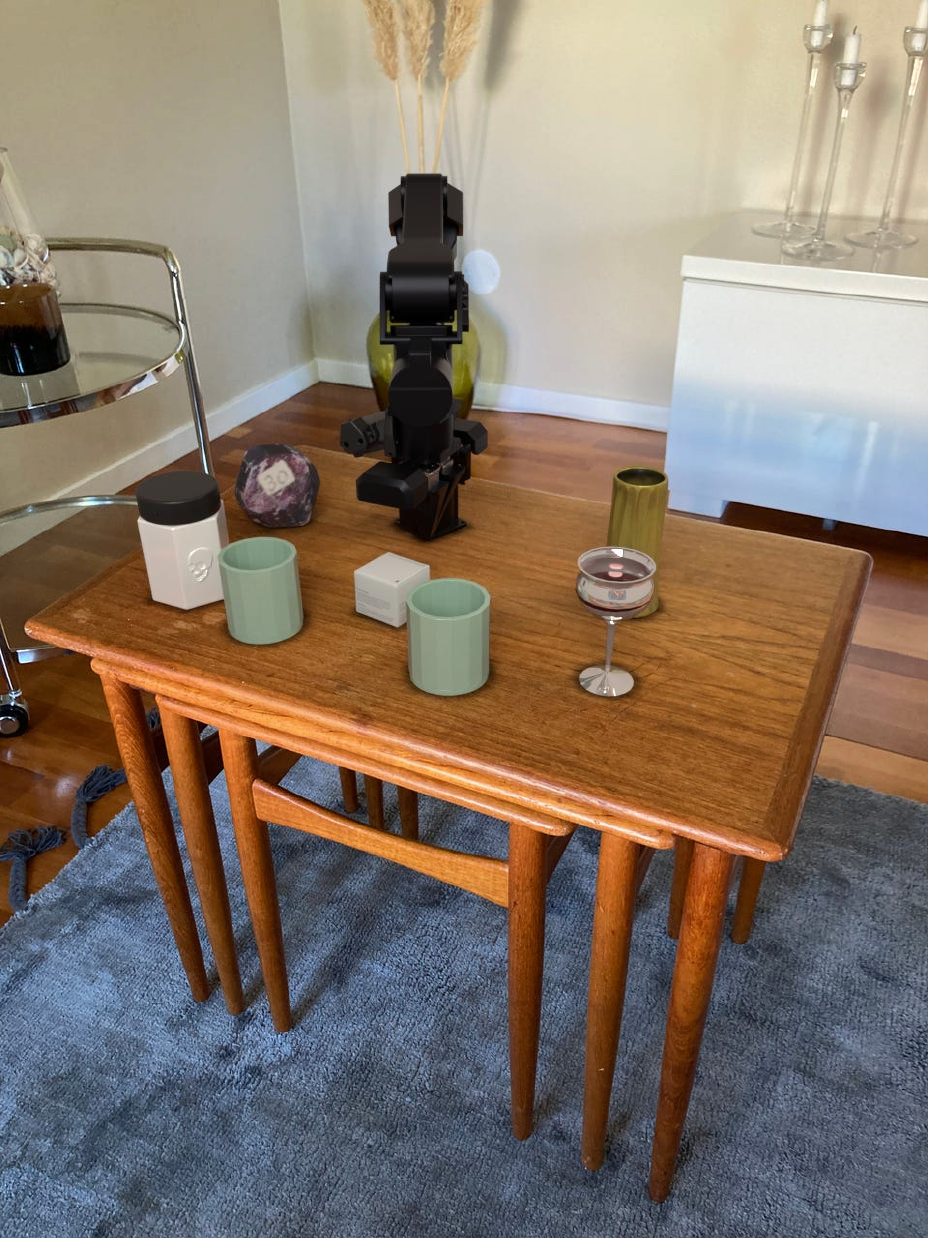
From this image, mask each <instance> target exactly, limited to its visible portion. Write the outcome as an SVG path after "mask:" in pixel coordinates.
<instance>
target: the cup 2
mask: <svg viewBox="0 0 928 1238" xmlns="http://www.w3.org/2000/svg"><path fill="white" fill-rule="evenodd" d="M491 598H492V597H491V594H490V593H489V591H488V590H487V588H486V587H485V586H483V585H481V584H479V583H477V582H476V581H472V580H468V579H464V578H460V577H459V578H457V577H441V578H435V579H430V580H428V581H426V582H423V583H421V584H418V585H416V586H415V587H414V588H413V589H411V590H410V591H409V592H408V594H407V598H406V619H407V622H406V643H407V668H408V674H409V679H410V680H411V682H412V683H413V685H414V686H415V687H416V688H418V689H419V690H421V691H423V692H425V693H428V694H431V695H435V696H436V695H437V696H444V697H445V696H446V697H455V696H461V695H466V694H469V693H472V692H475V691H476V690H478V689H480V688H481V687H483V686H484V684H486V682H487V681H488V679H489V677H490V666H491V655H490V654H491V603H492V602H491V600H492V599H491Z"/></svg>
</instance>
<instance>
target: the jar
mask: <svg viewBox="0 0 928 1238" xmlns="http://www.w3.org/2000/svg"><path fill="white" fill-rule="evenodd" d="M134 493H135V497H136V503H137V507H138V508H137V509H138V514H139V516H138V519H137V528H138V532H139V535H140V542H141V548H142V552H143V557H144V562H145V567H146V572H147V573H146V574H147V577H148V583H149V589H150V593H151V598H152V600H153V601H154V602H156V603H157V602H158V603H161V604H164V605H168V606H171V607H175V608H178V609H181V610H186V611H189V610H191V609H195V608H199V607H202V606H206V605H209V604H212V603H216V602H219V601H222V600H223V601H224V598H223V591H222V584H221V578H220V571H219V565H218V558H217V556H218V554H219V553H220V551H221V550H222V549H223V548H225V547H226V546H228V545H229V544H230V538H229V530H228V524H227V518H226V509H225V504H224V502H225V501H224V500H223V499H222V498H221V492H220V486H219V480H218V479H217V478H216V477H215V476H213V475H212V474H210V473H207V472H204V471H197V470H175V471H167V472H164V473H159V474H156V475H153V476H150V477H148V478H146V479H145V480H142V481H141V482H140V483H138V484H137V486H136V488H135V492H134Z"/></svg>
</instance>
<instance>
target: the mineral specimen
mask: <svg viewBox="0 0 928 1238" xmlns="http://www.w3.org/2000/svg"><path fill="white" fill-rule="evenodd" d="M318 471H319V470H318V469H317V468H316V466H315V465H314V463H313V462H312V461H311V460H310V458H309V457H308V456H307V455H306V454H305V453H304V452H302V451H300V450H298V449H297V448H295V447H293V446H291V445H290V444H286V443H266V444H257V445H252V446H249V448H248V449H247V450H246V451H245V452H244V455H243V457H242V460H241V464H240V466H239V471H238V474H237V477H236V481H235V484H234V490H233V491H234V497H235V501H236V503H237V504H238V506H239V507H240V508H241V510H242V511H243V512H244V513H245V514H246V515H247V516H248V518H249V519H251V521H252V522H254V523H257V524H260V525H262V526H263V527H266V528H271V529H278V528H295V527H303V526H305V525H307V524H308V523H309V522H311V518H312V515H313V512H314V508H315V506H316V501H317V499H318V498H317V497H318V493H319V489H320V485H321V478H320V475H319V472H318Z"/></svg>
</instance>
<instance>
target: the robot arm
mask: <svg viewBox="0 0 928 1238" xmlns="http://www.w3.org/2000/svg"><path fill="white" fill-rule="evenodd" d="M399 183H400V184H398V185H397V186H395V187H394V188H393V189H391V190H390V191H389V192H388V194H387V195H388V197H387V199H388V202H387V203H388V229H389V233H390V237H395V242H396V246H394V247H393V248H391V249H390V250H389V251H388V253H387V260H386V271H379V345H381V346H392V349H393V351H392V352H393V366H392V369H391V374H390V380H389V384H388V390H387V401H388V405H387V406H386V407H385V409H384V411H380V412H379V411H378V412H375V413H372V414H368V415H365V416H363V417H362V416H358V417H356V418H354V419H352V418H349V419H347V420H345V421H344V422H342V423H340V430H339V434H340V435H339V439H340V440H339V446H340V447H341V448H343V450H344V452H346V453H347V454H348V455H351V454H352V455H353V458H355V459H357V458H362V457H363V456H364V455H366V454H371V453H377V452H380V451H384V453H383V454H384V457H389V458H390V459H391V461H390V462H388V461H383V460H380V461H378V462H376V463H375V464H373V465H372V466H371V467H369V468H368V469H367V470H365V471H363V472H362V473H361V474H360V475H359V476H358V477H357V478H356V479H355V490H356V491H355V492H356V500H357V501H358V502H362V503H367V504H368V503H369V504H374V505H378V506H383V507H387V508H388V507H389V508H393V509H398V516H399V517H398V518H395V519H394V521H393V522H394V525H396V526H397V527H400V528H401V529H402V530H404V531H406V532H408V533H410V534H412V535H413V536H416V537H417V538H419V539H421V540H422V541H425V542H428V541H431V540H435V539H437V538H440V537H443V536H444V535H447V534H450V533H453V532H456V531H458V530H461V529H464V528H466V527H467V526H468V522H467V521H466V520H464V519H462V518H460V517H459V485H460V486H465V485H466V482H467V481H468V480H471V479H472V455H473V456H474V455H475V456H479V455H481V454H482V452H484V451H485V450H486V449H488V447H489V444H488V442H489V431H488V429H487V428H486V427H485V426H484V425H483V424H482V422H481V421H477V420H470V419H465V418H464V419H463V418H460V417H459V414H458V412H459V411H460V410H461V409H462V403H461V402H462V401H461V398H456V397H455V398H454V357H453V356H454V352H453V351H454V349H453V347H454V346H453V345H463V343H464V342H463V340H464V339H463V337H464V336H463V333H469V332H470V305H469V304H470V300H469V299H470V296H469V295H470V294H469V291H470V290H469V287H470V286H469V283H468V282H467V281H466V280H465V274H464V273H463V270H455V261H456V259H457V258H458V237H464V191H462V190H460V189H459V188H457V187H455V186H454V185H452V184H450V183H448V175H443V174H442V173H441V172H440V173H439V172H438V173H437V172H435V173H434V172H431V173H428V172H427V173H421V172H420V173H419V172H418V173H417V172H416V173H415V172H414V173H413V172H412V173H410V172H409V173H406V174H405V175H400V182H399ZM388 312H389V313H388ZM455 312H456V314H455ZM455 316H456V317H455ZM388 317H389V318H388ZM388 319H389V320H388ZM388 321H389V323H391V325H389V330H388ZM455 321H456V330H453V327H454V326H453V325H454V324H453V323H454V322H455Z"/></svg>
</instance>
